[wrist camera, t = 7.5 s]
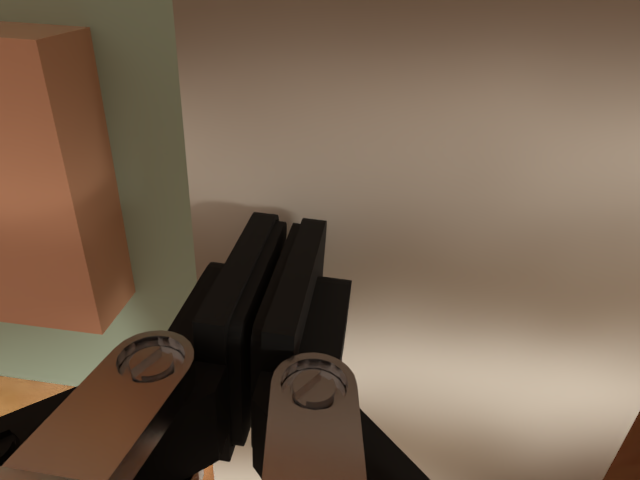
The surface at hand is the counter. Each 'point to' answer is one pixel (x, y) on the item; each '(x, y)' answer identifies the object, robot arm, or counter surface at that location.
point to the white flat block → (442, 208)
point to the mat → (123, 180)
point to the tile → (57, 185)
